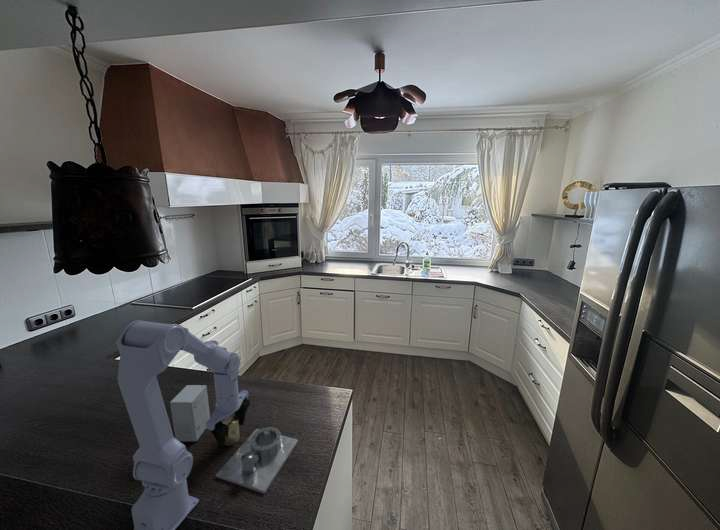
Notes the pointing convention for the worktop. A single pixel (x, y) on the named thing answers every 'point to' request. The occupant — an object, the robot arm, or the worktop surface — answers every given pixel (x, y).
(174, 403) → the small box
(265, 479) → the manifold plate
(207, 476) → the worktop surface
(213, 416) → the robot arm
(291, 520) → the worktop surface
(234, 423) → the brass rounded plug
